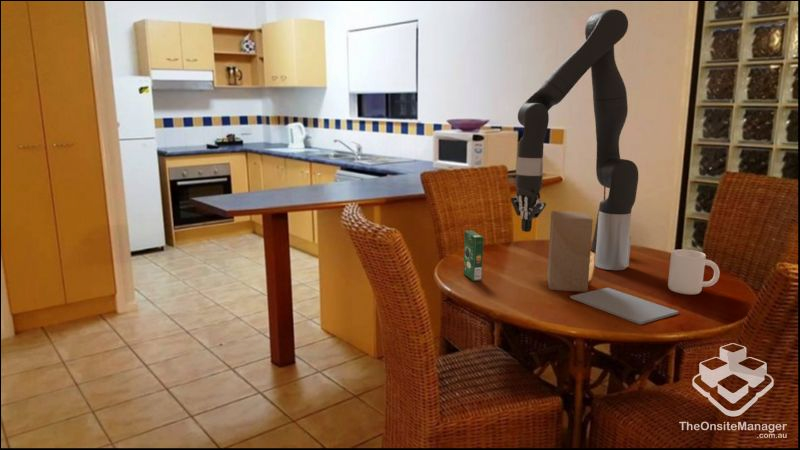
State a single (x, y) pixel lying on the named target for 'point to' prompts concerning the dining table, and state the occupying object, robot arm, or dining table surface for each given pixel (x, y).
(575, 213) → the wooden block
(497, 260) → the dining table surface
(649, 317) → the slate mat
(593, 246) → the butter churn
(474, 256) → the coffee box
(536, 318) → the dining table surface
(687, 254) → the mug
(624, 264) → the robot arm
